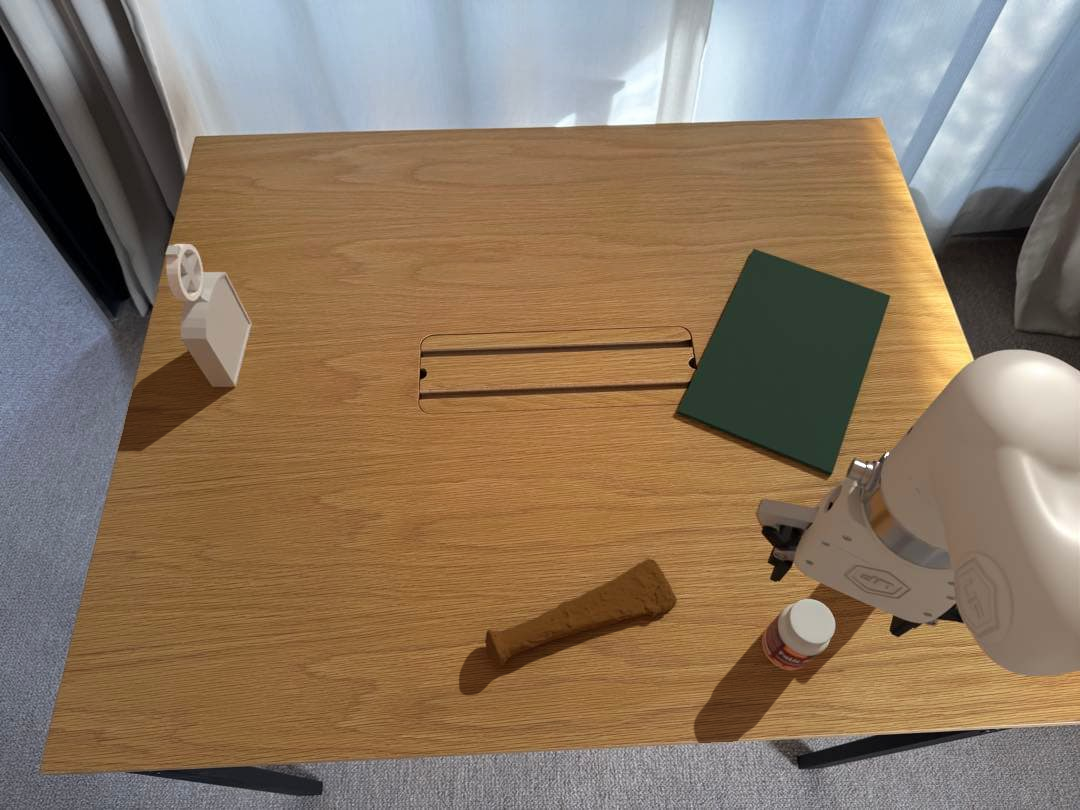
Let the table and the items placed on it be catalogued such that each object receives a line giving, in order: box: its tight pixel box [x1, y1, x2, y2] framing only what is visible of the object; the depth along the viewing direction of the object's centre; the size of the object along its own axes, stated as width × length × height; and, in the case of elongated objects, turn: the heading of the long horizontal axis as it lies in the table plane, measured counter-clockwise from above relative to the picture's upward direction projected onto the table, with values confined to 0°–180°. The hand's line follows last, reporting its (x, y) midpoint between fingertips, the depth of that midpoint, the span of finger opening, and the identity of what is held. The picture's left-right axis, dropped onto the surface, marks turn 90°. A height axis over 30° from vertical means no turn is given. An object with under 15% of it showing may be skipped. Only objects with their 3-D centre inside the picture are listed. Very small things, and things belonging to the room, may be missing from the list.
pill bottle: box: [761, 598, 836, 671], centre depth 71 cm, size 5×5×8 cm
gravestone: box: [165, 243, 253, 388], centre depth 85 cm, size 3×9×18 cm, turn 0°
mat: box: [676, 248, 891, 476], centre depth 93 cm, size 18×28×1 cm, turn 154°
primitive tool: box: [484, 558, 677, 668], centre depth 74 cm, size 19×6×4 cm, turn 115°
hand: (837, 591), depth 62 cm, fingers open, 9 cm apart
